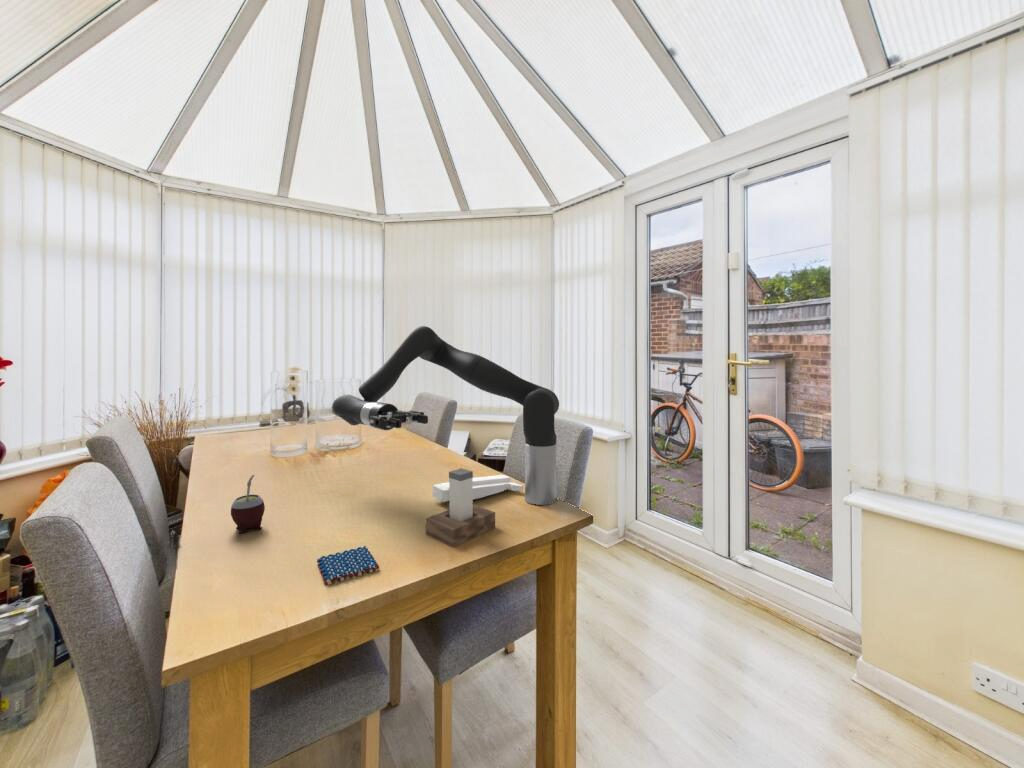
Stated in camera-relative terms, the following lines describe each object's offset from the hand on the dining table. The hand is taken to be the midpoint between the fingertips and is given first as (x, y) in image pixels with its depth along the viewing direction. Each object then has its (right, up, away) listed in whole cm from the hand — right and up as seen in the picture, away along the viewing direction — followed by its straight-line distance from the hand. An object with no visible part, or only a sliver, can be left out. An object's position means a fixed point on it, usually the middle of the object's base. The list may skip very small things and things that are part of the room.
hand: (413, 421), depth 110 cm
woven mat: (-8, -28, -24) cm, 38 cm away
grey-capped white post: (+13, -25, -6) cm, 29 cm away
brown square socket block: (+13, -26, -6) cm, 30 cm away
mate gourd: (-39, -26, -6) cm, 48 cm away
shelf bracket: (+18, -22, +13) cm, 31 cm away
